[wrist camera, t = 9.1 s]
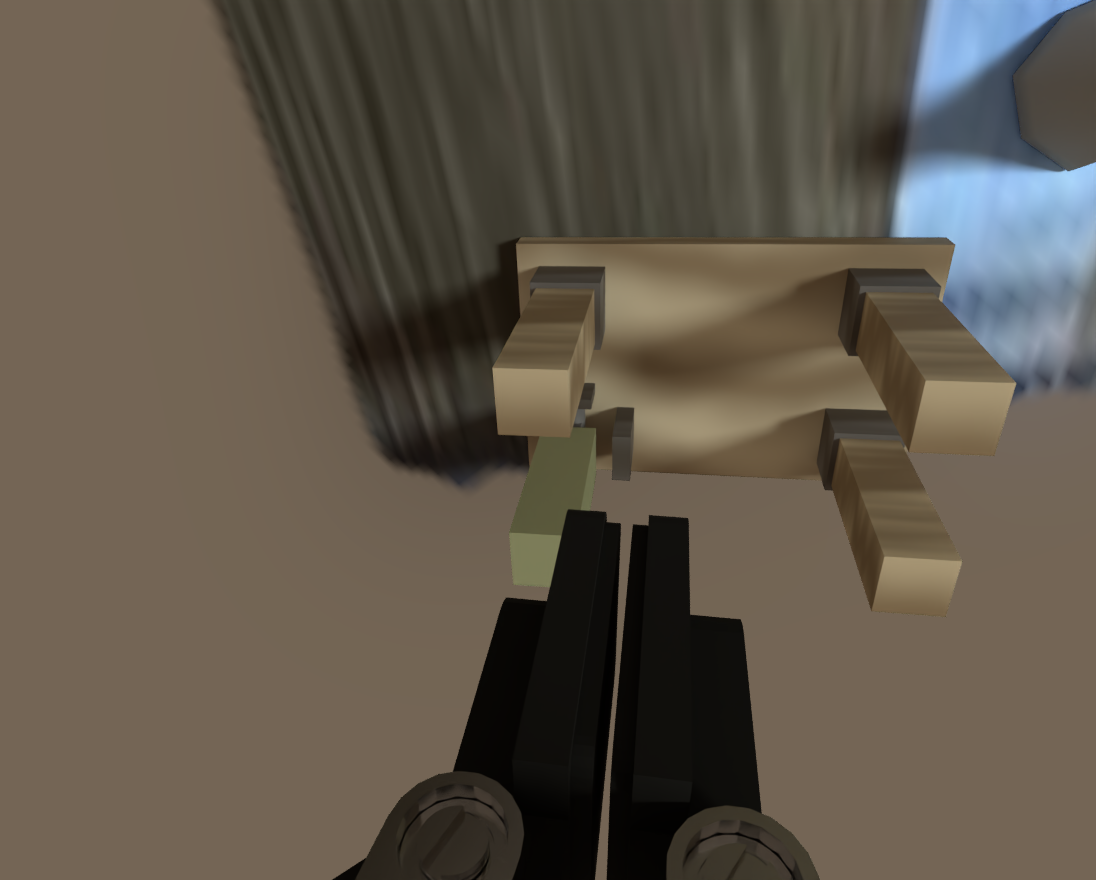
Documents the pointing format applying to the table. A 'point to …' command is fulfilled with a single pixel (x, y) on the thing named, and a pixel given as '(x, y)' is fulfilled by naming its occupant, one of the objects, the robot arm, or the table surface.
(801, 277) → the stool seat
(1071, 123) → the flask
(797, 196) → the table surface
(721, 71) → the table surface
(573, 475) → the hinged leg
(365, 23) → the table surface
